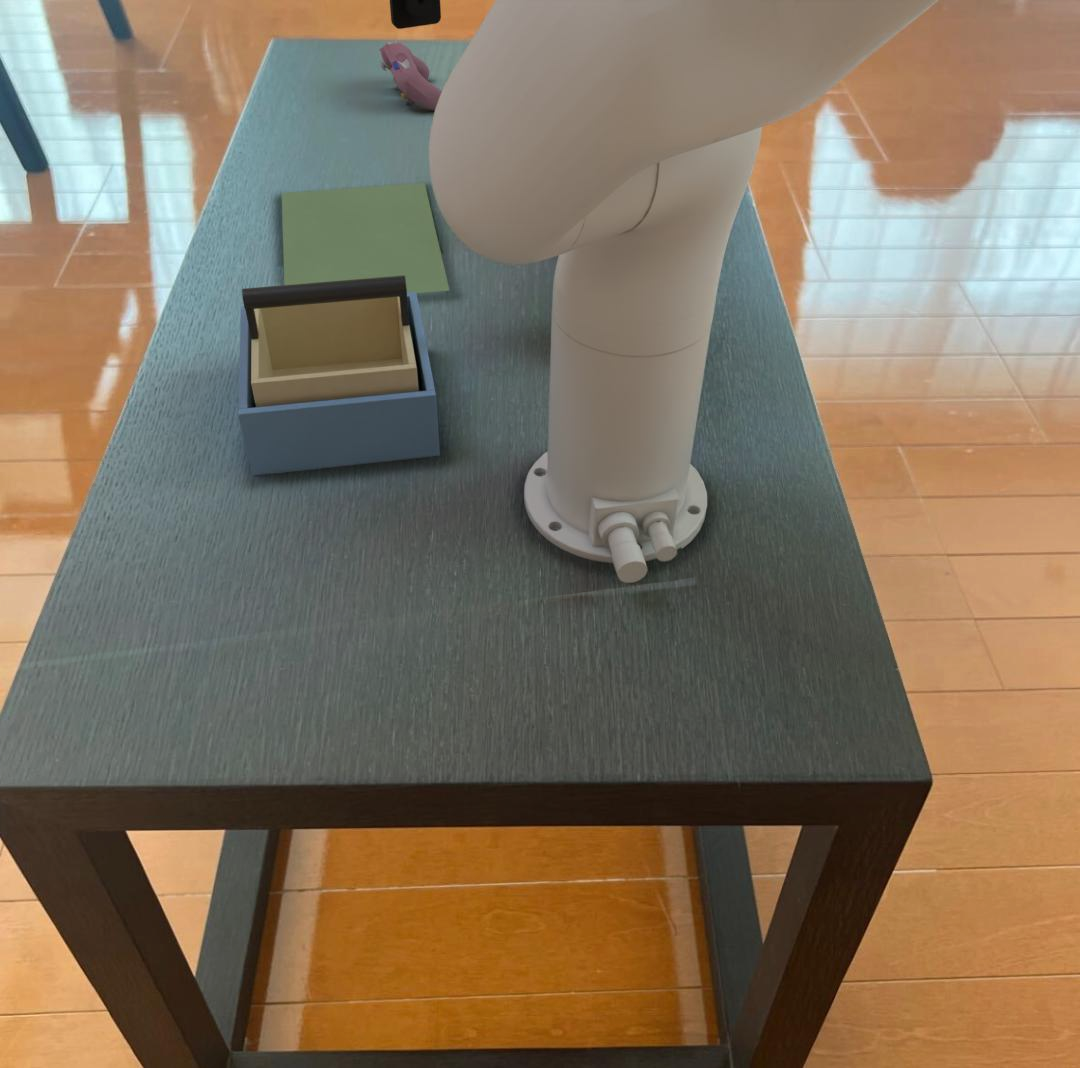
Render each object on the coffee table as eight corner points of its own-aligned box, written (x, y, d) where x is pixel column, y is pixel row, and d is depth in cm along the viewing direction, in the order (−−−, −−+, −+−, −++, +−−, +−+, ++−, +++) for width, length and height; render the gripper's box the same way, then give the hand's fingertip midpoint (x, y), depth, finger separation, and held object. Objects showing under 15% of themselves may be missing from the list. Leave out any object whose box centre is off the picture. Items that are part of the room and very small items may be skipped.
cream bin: (422, 447, 77) (413, 321, 70) (268, 463, 76) (240, 336, 68) (408, 358, 85) (398, 236, 78) (267, 372, 84) (242, 248, 76)
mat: (450, 296, 93) (449, 290, 92) (285, 310, 91) (284, 304, 90) (425, 188, 107) (424, 182, 106) (282, 198, 105) (281, 192, 104)
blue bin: (440, 461, 77) (436, 394, 73) (253, 481, 75) (238, 414, 71) (421, 355, 86) (416, 291, 82) (254, 371, 85) (240, 306, 80)
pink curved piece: (398, 94, 126) (366, 42, 121) (431, 73, 126) (400, 19, 121) (416, 129, 120) (384, 75, 115) (451, 107, 119) (420, 52, 114)
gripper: (262, -337, 65) (302, -30, 77) (347, -299, 54) (379, 53, 65) (380, -341, 67) (402, -43, 79) (486, -306, 56) (492, 36, 68)
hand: (391, 0), depth 72 cm, fingers open, 9 cm apart
